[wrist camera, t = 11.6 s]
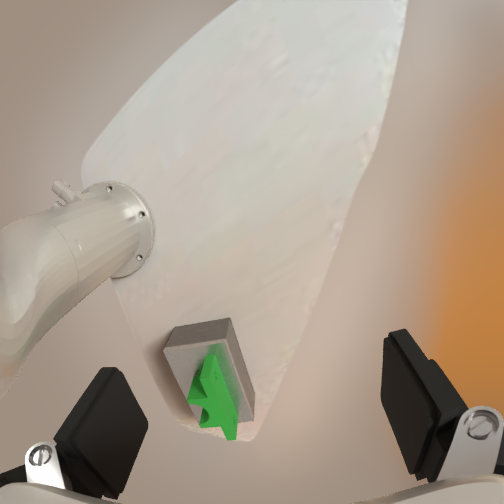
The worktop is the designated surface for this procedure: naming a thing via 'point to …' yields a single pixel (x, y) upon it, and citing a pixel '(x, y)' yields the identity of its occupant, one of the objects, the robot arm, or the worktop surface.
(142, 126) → the worktop surface
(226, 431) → the pipe clamp
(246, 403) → the gray rectangular block
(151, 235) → the robot arm
